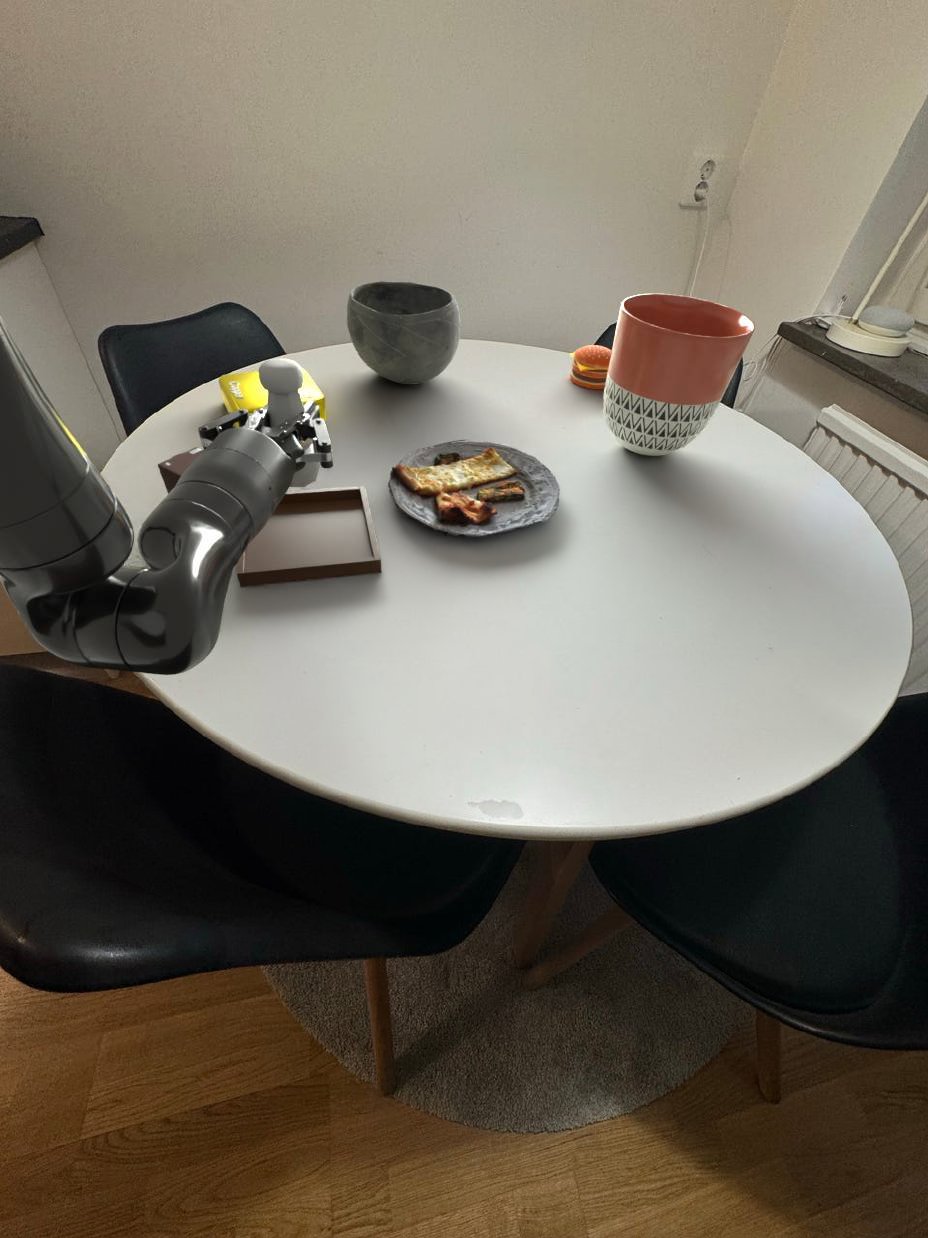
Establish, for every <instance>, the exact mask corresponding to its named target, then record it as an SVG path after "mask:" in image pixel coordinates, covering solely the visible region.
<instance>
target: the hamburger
mask: <svg viewBox="0 0 928 1238" xmlns="http://www.w3.org/2000/svg"><path fill="white" fill-rule="evenodd" d="M611 352H612V349H609V348H608V347H606V346H602V345H595V344H588V345H585V346H582V347H579V348H577V349H576V350H574V352H571V353H569V357H571V358H572V359H573V360H572V363H571V367H572V368H571V371H570V372H569V379H570V381H571V382H572V383H573V384H575V385H577V386H580V387H582V388H586V389H591V390H604V388H605V383H606V378H607V372H608V367H609V362H610V357H611Z"/></svg>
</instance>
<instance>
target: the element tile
mask: <svg viewBox="0 0 928 1238" xmlns="http://www.w3.org/2000/svg"><path fill="white" fill-rule="evenodd" d="M302 371H303V377H304V381H303V386H302V388H300V389H299V390H298V391H299V394H300V396H301V399H302V402H303V405H305V404H306V402H307V401H308V400H310V401H315V402H316V406H319V412H320V419H323V420H324V421H325V423H326V422H327V419H328V417H327V409H326V408H327V407H326V399H325V395H324V394H323V392H322V391H321V389H320V388H319V387H318V385H317V384H316V383H315V381H314V380H313V379H312V377H311V376H310V375H309V373H308V372H307V370H305V369H304V368H302ZM218 384H219V388H220V393H221V397H222V400H223V403H224V406H225V408H226V410H227V414H229V413H232V412H234V411H236V410H239V409H246V410H247V411H248V414H253V413H254V412H255V410H256V409H262V408H263V407H264V406H265V405H266V404H267V403H268V391H267V390H265V389H264V388H263V387H262V385H261V383H260V380H259V370H255V371H246V372H237V373H229V374H228V373H227V374H222V375H221V376H220V377H219V378H218ZM233 427H234V428H236V427H239V424H238V422H236V423H234V425H233Z"/></svg>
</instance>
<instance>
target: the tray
mask: <svg viewBox="0 0 928 1238" xmlns="http://www.w3.org/2000/svg"><path fill="white" fill-rule="evenodd" d="M371 512H372V511H371V508H370V503H369V499H368V494H367V490H366V485H356V486H343V487H341V486H340V487H326V488H313V489H297V490H287V492H286V494H285V495H284V497H283V498H282V500H281V501H280V503H279V504H278V506H277V508H276V509H275V511H274V512H273V514H272V515H271V517H270V518H269V520H268V522H267V523H266V525H265V526H264V528H263V529H262V530H261V531H260V533H259V534H258V535H257V536H256V537H255V538H254V539H253V540H252V541H251V542H250V544H249V546H248V547H247V549H246V550H245V552H244V553H243V555H242V556H241V558H240V559H239V561H238V563H237V564H236V578H237V580H238V584H239V587H240V588H245V587H255V586H266V585H275V584H284V583H295V582H305V581H313V580H322V579H333V578H341V577H353V576H363V575H371V574H372V575H373V574H381V573H382V559H381V553H380V549H379V544H378V539H377V536H376V530H375V526H374V521H373V517H372V513H371Z"/></svg>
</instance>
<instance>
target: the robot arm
mask: <svg viewBox="0 0 928 1238" xmlns="http://www.w3.org/2000/svg"><path fill="white" fill-rule="evenodd" d="M304 410H305V411H303V412H301V413H300V414H299V415H298V416H296V417H295V418H294V419H293V420H290V419H286V420H285V421H284V422H283V423H281V424H280V425H279V426H278V427H276V428H270V416H269V414H268V403H267V404H266V405H265V406H264V407H263V408H262V409H256V410H255V412H254V413H253V414H248V411H247V410H246V409H239V410H236V411H234V412H232V413H227V414H225V415H223V416H220V417H218V418H216V419H214V420H211V421H209V422H206V423H205V424H203V425H200V426H199V427H198V428H197V432H198V435H199V440H200V442H201V446H202V450H204V451H203V452H202V453H201V454H200V455H199V456H198V458H197V459H196V460H195V461H194V462H193V463H192V464H191V465H190V466H189V467H188V468H187V469H186V470H185V472H184V473H183V474H182V476H181V477H180V479H179V480H178V482H177V484H176V486H175V487H174V488H173V489H172V491H171V492H170V493H169V494H168V493H167V495H166V496H165V497H164V498H163V499H162V500H161V501H160V502H159V503H158V505H157V506H155V508H154V509H153V510H152V511H151V512H150V513H149V515H148V516H147V517H146V518H145V520H144V521H143V523H142V525H141V527H140V528H139V531H138V536H137V547H138V548H137V549H138V551H139V553H140V556H141V558H142V559H143V561H144V562H145V563H146V564H147V566H148V567H141V566H131V565H129V566H128V565H125V564H126V562H127V561H128V559H129V557H130V555H131V553H132V551H133V549H134V544H135V531H134V527H133V524H132V522H131V518H130V517H129V515H128V513H127V511H126V509H125V507H124V506H123V504H122V503H121V501H120V500H119V499H118V497H117V496H116V494H115V493H114V491H113V490H112V488H111V487H110V485H109V484H108V482H107V481H106V479H105V478H104V477H103V476H102V474H101V472H100V471H99V470H98V468H97V467H96V465H95V463H94V462H93V461H92V460H91V457H90V456H89V455H88V454H87V453H86V451H85V450H84V447H82V445H81V444H80V442H79V441H78V440H77V438H76V437H75V436H74V434H73V432H72V431H71V430H70V428H69V427H68V426H67V424H66V423H65V421H64V420H63V419H62V417H61V415H60V414H59V412H58V411H57V409H56V408H55V406H54V405H53V403H52V402H51V400H50V399H49V397H48V396H47V394H46V392H45V391H44V389H43V388H42V386H41V385H40V383H39V381H38V379H37V378H36V376H35V375H34V373H33V371H32V369H31V367H30V366H29V364H28V362H27V361H26V359H25V357H24V355H23V353H22V352H21V350H20V348H19V346H18V344H17V343H16V340H15V338H14V337H13V334H11V331H10V330H9V328H8V326H7V324H6V321H4V319H3V316H2V315H1V313H0V582H1V584H2V586H3V589H4V590H5V593H6V594H7V597H8V598H9V600H10V602H11V604H12V605H13V607H14V608H15V609H16V612H17V613H18V615H19V616H20V618H21V620H22V622H23V623H24V625H25V627H26V629H27V630H28V632H29V633H30V635H31V636H32V637H33V638H34V640H35V641H36V642H37V643H38V644H39V645H40V646H41V647H42V648H43V649H44V650H47V652H49V653H51V654H52V655H54V656H55V657H57V658H59V659H61V660H63V661H65V662H67V663H69V664H73V665H76V666H79V667H83V668H90V669H98V670H99V669H100V670H110V671H119V672H128V673H129V672H131V673H141V674H150V675H161V676H172V675H180V674H183V673H186V672H188V671H190V670H192V669H194V668H195V667H196V666H198V665H199V664H201V663H202V662H203V661H205V659H206V658H207V657H208V656H209V655H210V654H211V653H212V652H213V649H215V646H216V644H217V643H218V639H219V636H220V632H221V626H222V620H223V614H224V608H225V604H226V603H225V602H226V598H227V594H228V591H229V586H230V583H231V579H232V575H233V572H234V568H235V567H236V566H237V563H238V561H239V559H240V558H241V556H242V555H243V553H244V552H245V550H246V549H247V547H248V546H249V544H250V542H251V541H252V540H253V539H254V538H255V537H256V536H257V535H258V534H259V533H260V531H261V530H262V529H263V528H264V526H265V525H266V523H267V522H268V520H269V518H270V517H271V515H272V514H273V512H274V511H275V509H276V508H277V506H278V504H279V503H280V501H281V500H282V498H283V497H284V495H285V494H286V492H287V491H289V489H290V488H291V487H290V485H291V482H292V479H293V476H294V474H295V473H296V472H297V471H299V470H301V469H303V468H304V467H305V465H306V463H310V462H320V464H321V466H320V468H322V469H326V470H328V469H332V468H333V467H334V460H333V459H334V458H333V448H332V441H331V438H330V435H329V431H328V429H327V424H326V422H325V421H324V420H323V419H320V412H319V406H316V402H315V401H310V400H308V401H307V402H306V404H305V405H304ZM236 422H238V424H239V427H236V428H235V427H234V423H236ZM311 439H312V441H313V444H311V445H310V447H309V448H308V449H306V450H304V446H305V445H306V444H307V443H308V442H309V441H310V440H311Z"/></svg>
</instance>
